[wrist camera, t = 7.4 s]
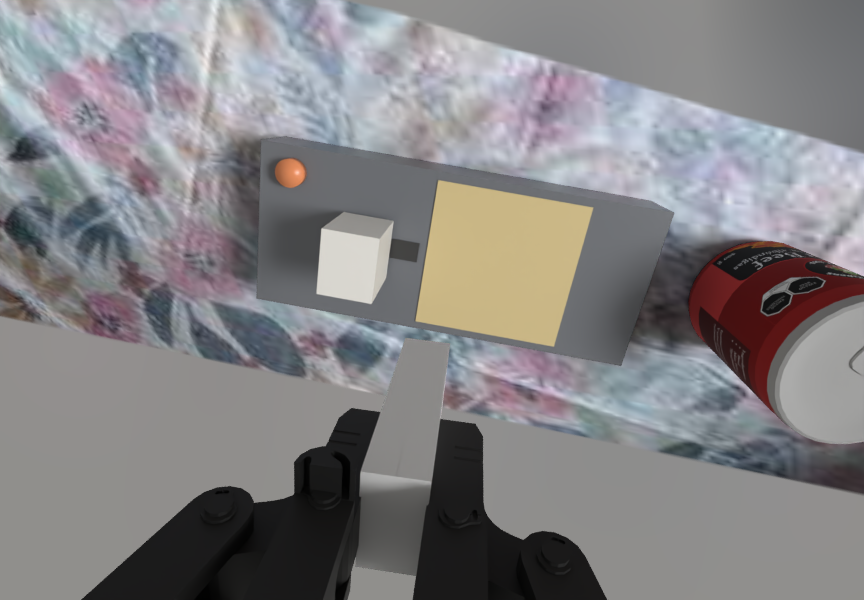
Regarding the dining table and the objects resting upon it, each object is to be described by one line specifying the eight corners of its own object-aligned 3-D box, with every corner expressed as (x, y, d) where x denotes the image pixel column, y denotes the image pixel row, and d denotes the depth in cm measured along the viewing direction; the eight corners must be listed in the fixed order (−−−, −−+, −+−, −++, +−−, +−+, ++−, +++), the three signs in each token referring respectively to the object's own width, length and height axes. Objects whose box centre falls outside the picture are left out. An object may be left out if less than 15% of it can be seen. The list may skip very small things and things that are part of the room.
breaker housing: (650, 200, 31) (680, 215, 27) (605, 338, 35) (624, 371, 30) (286, 136, 32) (255, 140, 27) (279, 279, 35) (251, 302, 31)
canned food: (828, 250, 31) (998, 316, 21) (773, 357, 34) (898, 461, 24) (712, 225, 32) (824, 280, 21) (666, 335, 34) (746, 428, 24)
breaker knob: (393, 220, 29) (379, 238, 25) (386, 278, 30) (371, 304, 26) (343, 211, 29) (321, 228, 25) (338, 269, 30) (316, 293, 26)
